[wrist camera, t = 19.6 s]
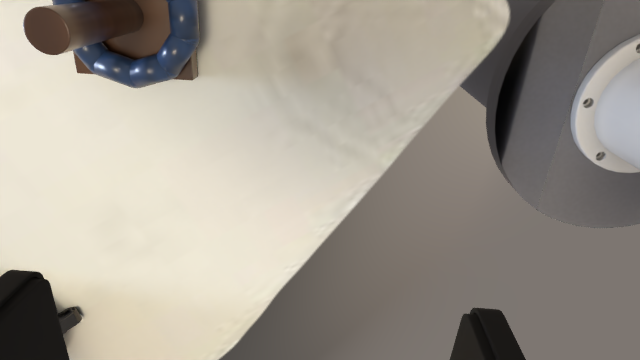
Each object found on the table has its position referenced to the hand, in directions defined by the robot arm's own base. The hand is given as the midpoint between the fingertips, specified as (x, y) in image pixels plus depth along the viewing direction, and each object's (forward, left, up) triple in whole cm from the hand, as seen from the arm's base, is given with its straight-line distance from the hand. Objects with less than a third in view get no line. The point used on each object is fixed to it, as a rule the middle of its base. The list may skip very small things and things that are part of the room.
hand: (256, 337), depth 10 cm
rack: (+13, -4, -27) cm, 31 cm away
